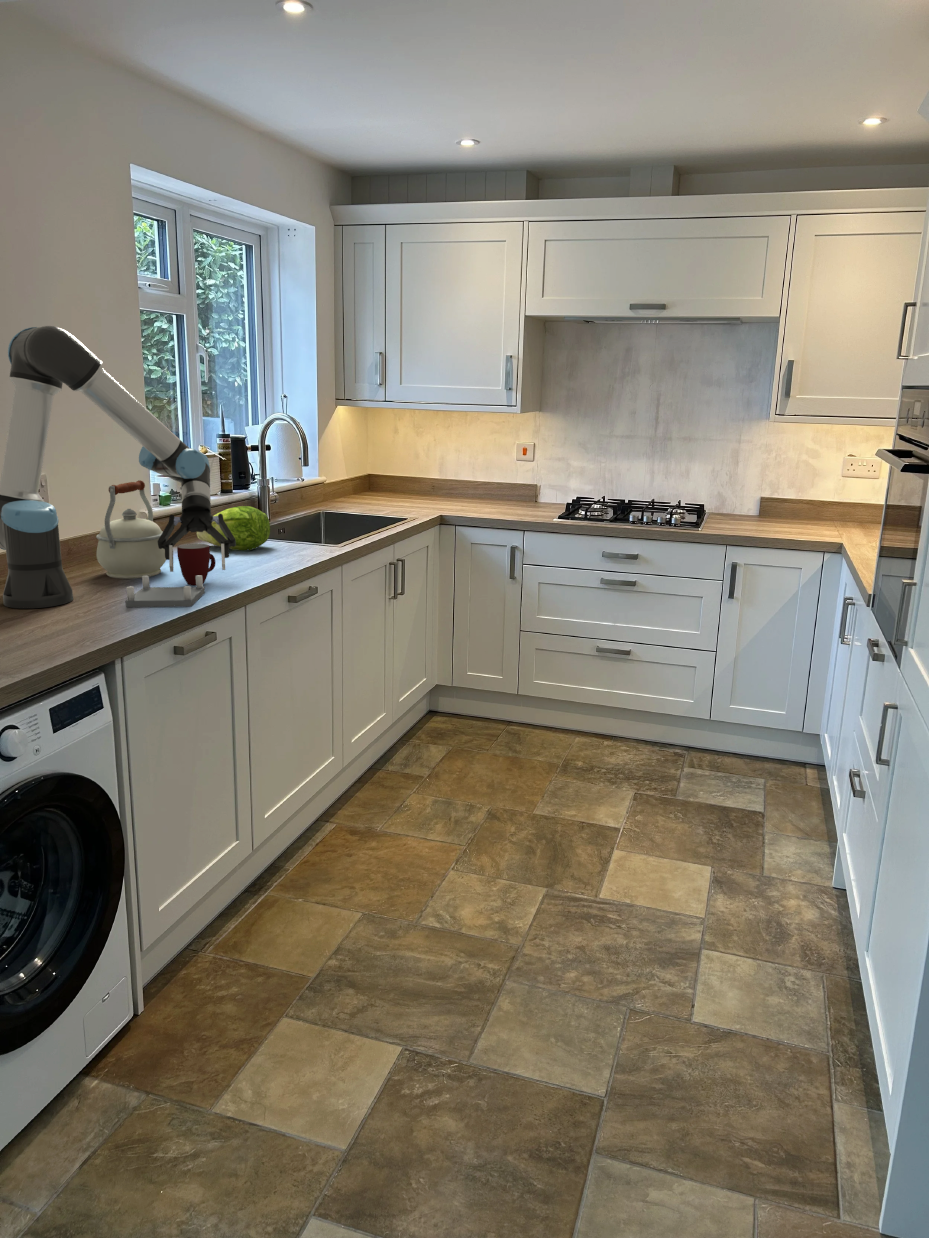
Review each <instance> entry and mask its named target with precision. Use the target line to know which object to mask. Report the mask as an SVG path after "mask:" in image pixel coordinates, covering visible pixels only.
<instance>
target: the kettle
mask: <svg viewBox="0 0 929 1238" xmlns="http://www.w3.org/2000/svg"><path fill="white" fill-rule="evenodd" d="M145 488H146V484H145V482H144V480H140V479H139V480H137V481H130V482H124V483H123V482H122V483H119V484H117V485H116V484H111V485H109V486H108V492H109V496H110V497H109V499H110V500H109V504H108V507H107V510H106V512H105V516H104V525H103V526H102V527H101V529H100V531H99V534H97V535H96V536H95V537H96V539H97V540H98V543H97V546H96V547H97V548H96V560H97V562H98V563H99V565H100V566H101V567H102V568H103V569H104V570H105V571H106V575H107V576H108V577H109V578H112V579H113V578H114V579H126V580H128V579H142V576H149V578H151V577H154V576H157V575H159V574H160V573H161V572H162V569H161V568H162V567H163V565H164V564H165V563H166V561H167V560H166V558H165V549H163V548H162V549H159V547H158V540H159V538H160V536H161V534H162V533H163V531H162V529H161V527H160V526H159V525H158V524H157V522H154V511H153V507H152V506H151V504H150V502H149V500H148V498H147V496H146V493H145ZM135 491H138V492H139V495H140V498H141V500H142V502H143V504H144V506H145V507H146V509H147V516H148V517H147V519H146V518H140V517H137V515H138V513H137V512H136V511H135V510H133V509H131V508H127V509H125V510H124V511H123V512H122V513H121V516H122V517H123V518H119V519H114V520H111V516H112V513H113V510H114V507H115V505H116V504H115V503H116V495H118V494H125V493H127V494H128V493H132V492H135Z"/></svg>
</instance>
